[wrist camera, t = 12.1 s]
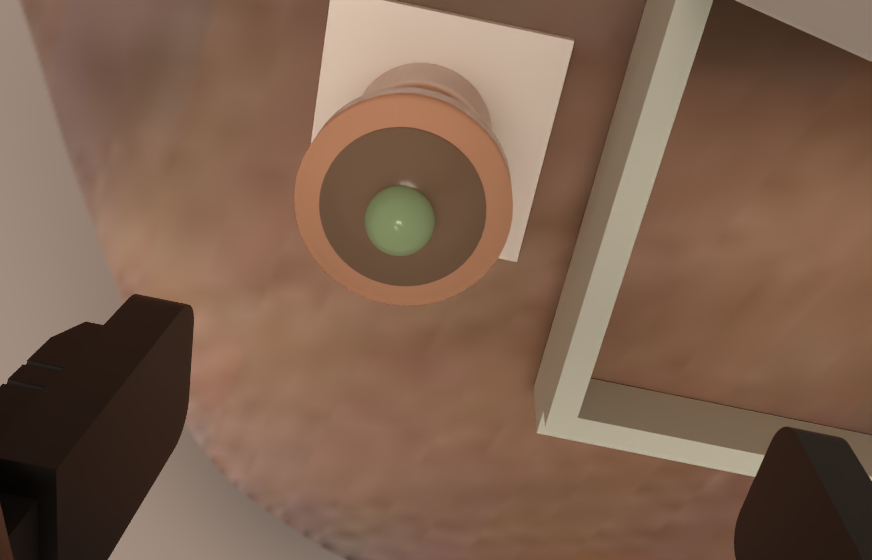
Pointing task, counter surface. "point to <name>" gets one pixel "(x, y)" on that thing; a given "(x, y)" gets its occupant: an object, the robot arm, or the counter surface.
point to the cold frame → (613, 242)
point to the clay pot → (406, 189)
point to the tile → (468, 56)
